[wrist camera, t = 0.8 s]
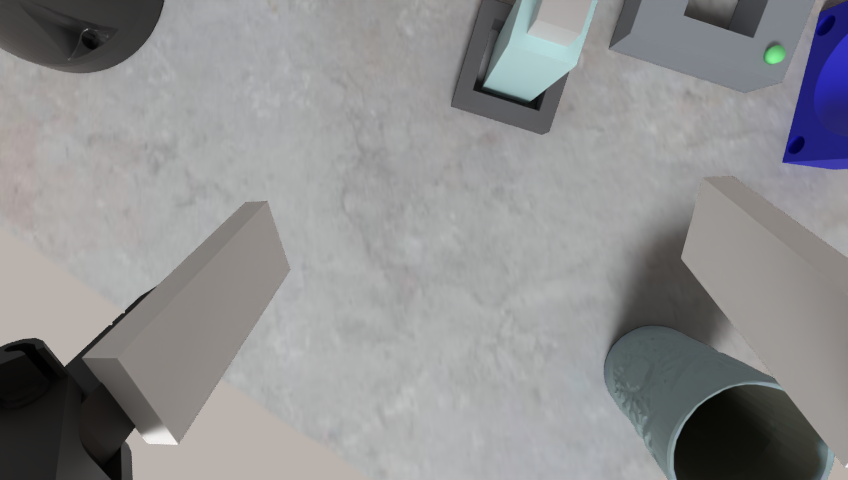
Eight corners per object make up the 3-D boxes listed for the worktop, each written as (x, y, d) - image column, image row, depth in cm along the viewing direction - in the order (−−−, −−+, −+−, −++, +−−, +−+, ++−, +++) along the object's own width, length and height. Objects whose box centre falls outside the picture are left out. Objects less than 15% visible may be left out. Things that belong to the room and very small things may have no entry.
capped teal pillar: (481, 89, 33) (516, 30, 21) (496, 40, 33) (541, -52, 20) (526, 103, 34) (590, 54, 21) (542, 55, 33) (617, -27, 20)
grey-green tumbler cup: (713, 403, 37) (848, 506, 25) (606, 434, 38) (690, 549, 26) (689, 302, 36) (820, 360, 24) (579, 334, 36) (654, 408, 24)
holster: (450, 106, 34) (452, 101, 32) (480, 7, 33) (483, -4, 31) (541, 134, 34) (549, 131, 32) (574, 37, 33) (583, 28, 31)
